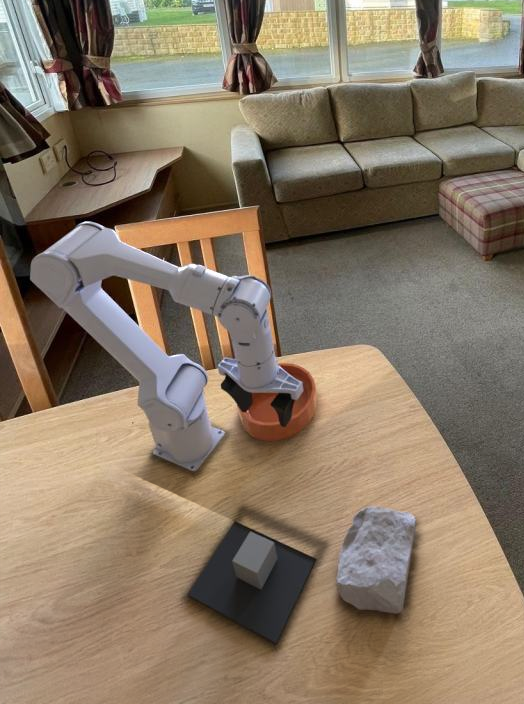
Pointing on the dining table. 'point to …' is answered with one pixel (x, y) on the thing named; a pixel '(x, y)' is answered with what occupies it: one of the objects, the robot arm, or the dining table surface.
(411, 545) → the stone block
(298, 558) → the mat
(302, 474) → the dining table surface
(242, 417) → the bowl
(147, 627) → the dining table surface
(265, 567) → the block
